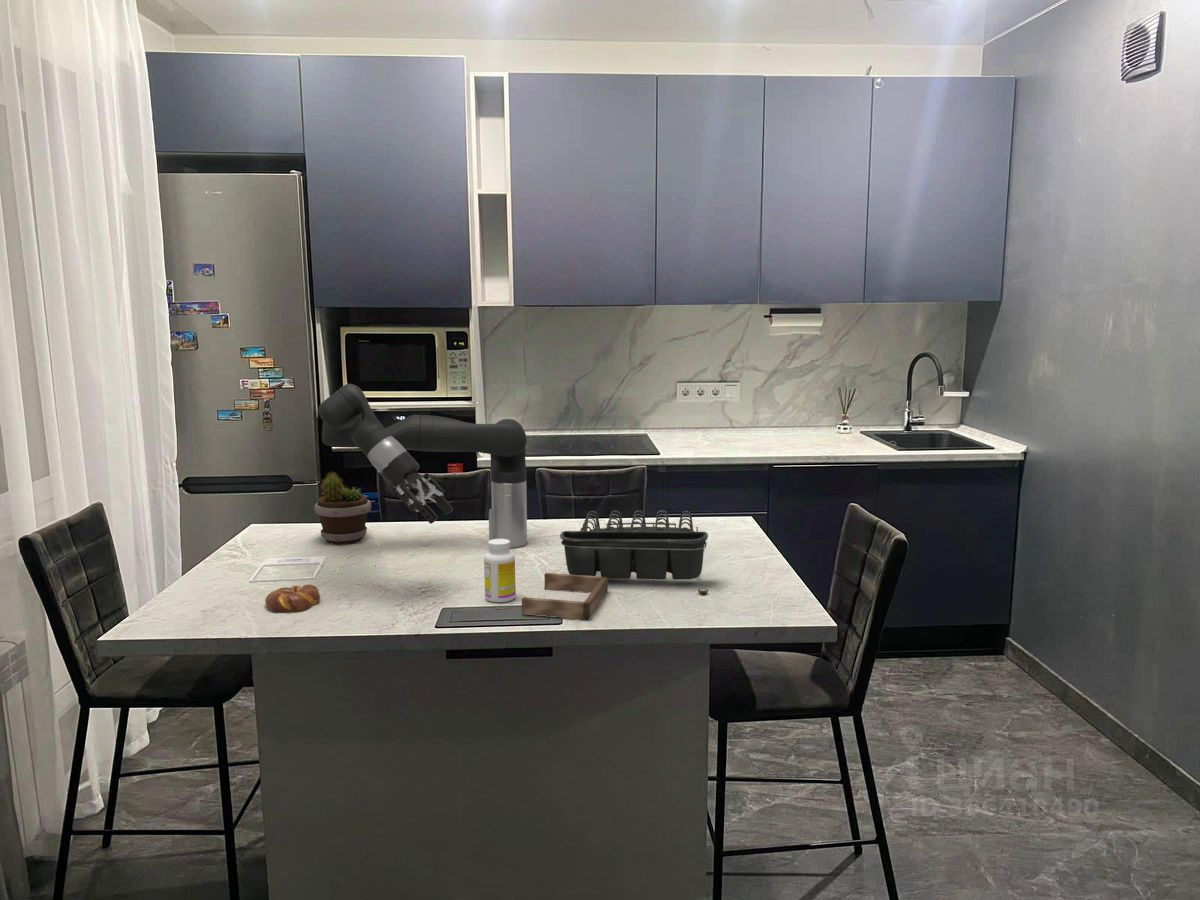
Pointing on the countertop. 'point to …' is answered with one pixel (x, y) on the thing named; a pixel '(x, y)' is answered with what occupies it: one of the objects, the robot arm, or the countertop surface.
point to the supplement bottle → (499, 571)
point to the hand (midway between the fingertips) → (442, 516)
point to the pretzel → (292, 598)
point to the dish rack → (635, 549)
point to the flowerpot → (342, 512)
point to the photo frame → (289, 563)
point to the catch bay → (565, 607)
